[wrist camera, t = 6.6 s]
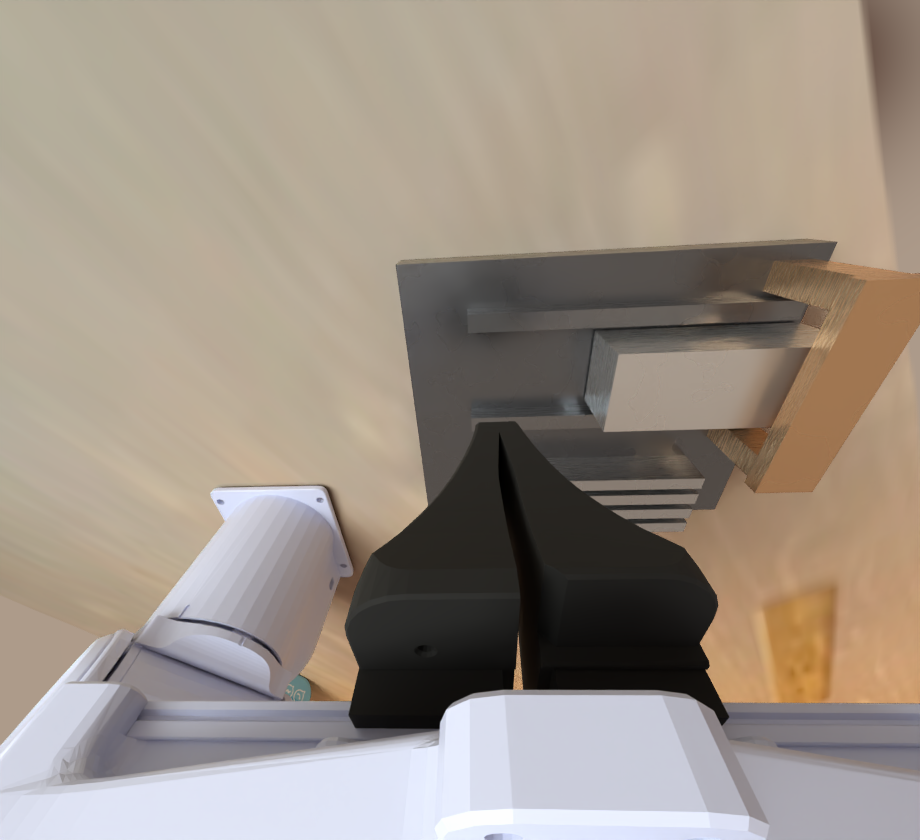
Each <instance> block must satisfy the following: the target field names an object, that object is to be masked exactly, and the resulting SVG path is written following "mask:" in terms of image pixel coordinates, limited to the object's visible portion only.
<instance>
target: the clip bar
mask: <svg viewBox="0 0 920 840" xmlns="http://www.w3.org/2000/svg"><path fill="white" fill-rule="evenodd" d="M819 330H820V329H817V328H814V327H811V326H809V325H806V324H803V323H800V322H797V323H773V324H749V325H724V326H700V327H676V328H651V329H627V330H603V331H595V335H594V342H593V348H592V355H591V361H590V368H589V374H588V381H587V387H586V394H585V401H586V403H587V405H588V407H589V408H590V410H591V412H592V413H593V415H594V417H595V418H596V420H597V422H598V423H599V425H600V427H601V429H602V430H603V432H622V431H659V430H697V429H734V428H771V427H772V425H773V423H774V421H775V419H776V417H777V415H778V413H779V411H780V409H781V407H782V405H783V403H784V401H785V399H786V397H787V395H788V393H789V391H790V389H791V387H792V385H793V383H794V381H795V379H796V377H797V375H798V373H799V371H800V369H801V367H802V365H803V363H804V361H805V359H806V357H807V355H808V353H809V351H810V349H811V347H812V345H813V343H814V340H815V338H816V336H817V334H818V332H819Z"/></svg>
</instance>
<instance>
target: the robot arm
mask: <svg viewBox="0 0 920 840" xmlns="http://www.w3.org/2000/svg"><path fill="white" fill-rule="evenodd" d="M210 495H211V497H212V499H213V501H214V503H215V504H216V506H217V508H218V510H219V511H220V513H221V515H222V516H223V518H224V520H225V522H224V523H223V525H222V526H221V527H220V529H219V530H218V531H217V532H216V534H215V535H214V536H213V538H212V539H211V540H210V541H209V543H208V544H207V545H206V547H205V548H204V549H203V550H202V552H201V553H200V554H199V555H198V557H197V558H196V559H195V561H194V562H193V563H192V564H191V566H190V567H189V568H188V570H187V571H186V572H185V573H184V575H183V576H182V577H181V579H180V580H179V581H178V582H177V584H176V585H175V586H174V587H173V589H172V590H171V591H170V593H169V594H168V595H167V596H166V598H165V599H164V600H163V602H162V603H161V604H160V605H159V607H158V608H157V609H156V611H155V612H154V613H153V614H152V616H151V617H150V618H149V619H148V621H147V622H146V623H145V625H144V626H143V627H142V628H140V629H139V630H138V631H137V632H136V633H135V634H134V633H132V632H130V631H128V630H126V629H120V630H118V631H117V632H115V633H114V634H109V635H106V636H103V637H101V638H98V639H97V640H96V641H95V642H93V643H92V644H91V646H90V647H88V649H87V650H86V651H85V652H84V653H83V654H82V655H81V656H80V657H79V658H78V659H77V660H76V661H75V662H74V663H73V665H72V666H71V667H70V668H69V669H68V670H67V671H66V672H65V673H64V674H63V676H62V677H61V678H60V679H59V680H58V681H57V682H56V683H55V684H54V686H53V687H52V688H51V689H50V690H49V691H48V692H47V693H46V695H45V696H44V697H43V698H42V699H41V700H40V701H39V702H38V704H37V705H36V706H35V707H34V708H33V709H32V710H31V711H30V713H29V714H28V715H27V716H26V717H25V718H24V719H23V720H22V722H21V723H20V724H19V725H18V726H17V727H16V729H15V730H14V731H13V732H12V733H11V734H10V735H9V737H8V738H7V739H6V740H5V741H4V742H3V743H2V745H1V746H0V840H920V704H908V703H722V702H721V700H720V698H719V696H718V694H717V692H716V690H715V688H714V686H713V684H712V682H711V680H710V678H709V676H708V674H707V672H706V670H705V669H708V668H709V666H710V665H709V660H708V658H707V657H706V655H705V653H704V651H703V649H702V647H701V645H700V641H701V640H702V638H703V636H704V635H705V633H706V631H707V629H708V628H709V626H710V624H711V623H712V621H713V619H714V617H715V614H716V611H717V608H718V600H717V595H716V594H715V592H714V590H713V589H712V587H711V586H710V584H709V583H708V581H707V579H706V578H705V576H704V575H703V573H702V572H701V570H700V569H699V567H698V566H697V564H696V563H695V562H694V560H693V559H692V558H691V557H690V555H689V554H688V553H687V551H686V550H685V548H683V547H681V546H679V545H677V544H675V543H673V542H671V541H668V540H666V539H664V538H662V537H660V536H658V535H656V534H653V533H651V532H649V531H647V530H645V529H643V528H641V527H639V526H637V525H636V524H634V523H632V522H630V521H628V520H627V519H625V518H623V517H621V516H619V515H618V514H616V513H614V512H613V511H611V510H609V509H608V508H606V507H605V506H603V505H602V504H600V503H599V502H597V501H596V500H594V499H593V498H591V497H590V496H588V495H587V494H586V493H584V492H583V491H582V490H580V489H579V488H578V487H576V486H575V485H574V484H573V483H571V482H570V481H569V480H568V479H567V478H565V477H564V476H563V475H562V474H561V473H560V472H559V471H558V470H557V469H556V468H555V467H554V466H553V465H552V464H551V463H550V462H549V461H548V460H547V459H546V458H545V457H544V456H543V455H542V454H541V452H540V451H539V450H538V449H537V448H536V447H535V446H534V444H533V443H532V442H531V441H530V440H529V438H528V437H527V436H526V434H525V433H524V432H523V430H522V429H521V428H520V426H519V425H518V423H516V422H515V421H505V422H479V423H477V424H476V425H475V431H474V434H473V437H472V440H471V442H470V445H469V447H468V449H467V451H466V453H465V455H464V457H463V459H462V461H461V462H460V464H459V466H458V467H457V469H456V471H455V472H454V474H453V476H452V477H451V478H450V480H449V481H448V483H447V484H446V485H445V487H444V488H443V489H442V491H441V492H440V493H439V494H438V496H437V497H436V498H435V499H434V500H433V501H432V503H431V504H430V505H429V506H428V507H427V508H426V509H425V510H424V511H423V512H422V513H421V514H420V515H419V516H418V517H417V518H416V519H415V520H414V521H413V522H412V523H410V524H409V525H408V526H407V527H406V528H405V529H404V530H403V531H402V532H400V533H399V534H398V535H397V536H396V537H394V538H393V539H392V540H390V541H389V542H388V543H386V544H385V545H384V546H382V547H381V548H380V549H378V550H377V551H375V552H374V553H372V555H371V557H370V558H369V560H368V562H367V564H366V566H365V568H364V570H363V573H362V575H361V577H360V580H359V582H358V584H357V587H356V589H355V592H354V595H353V598H352V602H351V605H350V609H349V612H348V616H347V619H346V623H345V631H346V636H347V639H348V641H349V644H350V646H351V649H352V651H353V653H354V656H355V658H356V661H357V663H358V666H359V672H358V676H357V680H356V685H355V689H354V693H353V697H352V701H293V700H292V698H291V697H290V696H289V695H287V694H285V692H286V689H287V687H288V684H289V683H290V682H291V681H292V680H293V679H295V677H296V676H297V675H298V674H299V673H300V672H301V671H302V670H303V669H304V667H305V666H306V664H307V663H308V662H309V660H310V658H311V657H312V655H313V653H314V650H315V648H316V645H317V642H318V639H319V636H320V634H321V631H322V628H323V625H324V622H325V619H326V617H327V614H328V611H329V608H330V605H331V602H332V600H333V597H334V594H335V591H336V588H337V585H338V583H339V580H340V577H350V576H352V575H353V572H354V569H353V566H352V563H351V560H350V557H349V554H348V551H347V548H346V545H345V542H344V539H343V536H342V533H341V530H340V527H339V524H338V521H337V518H336V515H335V512H334V509H333V506H332V503H331V500H330V497H329V495H328V492H327V490H326V489H325V488H324V487H322V486H280V487H231V488H215V489H214V490H213V491H212V492H211V494H210ZM319 497H320V498H319ZM321 498H322V499H321ZM518 635H519V646H520V657H521V669H522V681H523V690H513V683H514V669H516V655H517V640H518Z"/></svg>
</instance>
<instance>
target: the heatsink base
mask: <svg viewBox="0 0 920 840" xmlns="http://www.w3.org/2000/svg"><path fill="white" fill-rule="evenodd" d="M836 244H837V242H833V241H823V240H812V239H797V240H778V241H759V242H740V243H720V244H701V245H682V246H663V247H644V248H625V249H606V250H587V251H568V252H548V253H529V254H510V255H491V256H472V257H453V258H434V259H415V260H401V261H400V262H399V263H397V264H396V271H397V278H398V285H399V293H400V300H401V308H402V315H403V322H404V330H405V337H406V344H407V352H408V359H409V367H410V374H411V381H412V389H413V396H414V404H415V411H416V418H417V426H418V433H419V440H420V448H421V455H422V463H423V470H424V477H425V485H426V492H427V500H428V506H429V505H430V504H431V503H432V501H433V500H434V499H435V498H436V497H437V496H438V494H439V493H440V492H441V491H442V489H443V488H444V487H445V485H446V484H447V483H448V481H449V480H450V478H451V477H452V476H453V474H454V472H455V471H456V469H457V467H458V466H459V464H460V462H461V461H462V459H463V457H464V455H465V453H466V451H467V449H468V447H469V445H470V442H471V440H472V437H473V434H474V431H475V425H476V424H477V423H479V422H505V421H515V422H516V423H518V425H519V426H520V428H521V429H522V430H523V432H524V433H525V434H526V436H527V437H528V438H529V440H530V441H531V442H532V443H533V444H534V446H535V447H536V448H537V449H538V450H539V451H540V452H541V454H542V455H543V456H544V457H545V458H546V459H547V460H548V461H549V462H550V463H551V464H552V465H553V466H554V467H555V468H556V469H557V470H558V471H559V472H560V473H561V474H562V475H563V476H564V477H565V478H567V479H568V480H569V481H570V482H571V483H573V484H574V485H575V486H576V487H578V488H579V489H580V490H582V491H583V492H584V493H586V494H587V495H588V496H590V497H591V498H593V499H594V500H596V501H597V502H599V503H600V504H602V505H603V506H605V507H606V508H608V509H609V510H611V511H613V512H614V513H616V514H618V515H619V516H621V517H623V518H625V519H627V520H628V521H630V522H632V523H634V524H636V525H637V526H639V527H641V528H643V529H645V530H647V531H649V532H679V531H684V529H685V526H686V524H687V522H686V521H685V519H684V518H689V517H690V514H691V512H692V510H701V509H715V507H716V505H717V503H718V501H719V498H720V496H721V494H722V492H723V490H724V488H725V485H726V483H727V481H728V479H729V477H730V474H731V472H732V470H733V468H734V466H735V464H736V465H737V466H738V467H739V468H740V469H741V470H742V471H743V472H744V473H745V474H746V475H747V478H746V480H745V483H746V484H747V485H748V486H749V487H750V488H751V489H752V490H753V491H754V492H755V493H778V492H813V490H814V488H815V487H816V485H817V484H818V482H819V481H820V479H821V478H822V476H823V474H824V473H825V471H826V470H827V468H828V467H829V465H830V464H831V462H832V460H833V459H834V457H835V456H836V454H837V453H838V451H839V449H840V448H841V446H842V445H843V443H844V442H845V440H846V439H847V437H848V435H849V434H850V432H851V431H852V429H853V428H854V426H855V424H856V423H857V421H858V420H859V418H860V417H861V415H862V414H863V412H864V410H865V409H866V407H867V406H868V404H869V403H870V401H871V400H872V398H873V396H874V395H875V393H876V392H877V390H878V389H879V387H880V385H881V384H882V382H883V381H884V379H885V378H886V376H887V375H888V373H889V371H890V370H891V368H892V367H893V365H894V364H895V362H896V360H897V359H898V357H899V356H900V354H901V353H902V351H903V350H904V348H905V346H906V345H907V343H908V342H909V340H910V339H911V337H912V336H913V334H914V332H915V331H916V329H917V328H918V326H919V325H920V273H915V274H910V273H904V272H897V271H891V270H884V269H877V268H871V267H864V266H858V265H851V264H845V263H838V262H831V261H829V259H830V257H831V255H832V253H833V250H834V248H835V246H836ZM808 305H812V306H816V307H819V308H823V309H826V310H829V312H828V314H827V316H826V318H825V320H824V322H823V324H822V326H821V328H820V330H819V332H818V334H817V336H816V338H815V340H814V343H813V345H812V347H811V349H810V351H809V353H808V355H807V357H806V359H805V361H804V363H803V365H802V367H801V369H800V371H799V373H798V375H797V377H796V379H795V381H794V383H793V385H792V387H791V389H790V391H789V393H788V395H787V397H786V399H785V401H784V403H783V405H782V407H781V409H780V411H779V413H778V415H777V417H776V419H775V421H774V423H773V425H772V427H771V429H770V432H769V434H767V433H766V432H765V431H763V430H762V429H761V428H734V429H697V430H659V431H622V432H603V430H602V429H601V427H600V425H599V423H598V422H597V420H596V418H595V417H594V415H593V413H592V412H591V410H590V408H589V407H588V405H587V403H586V401H585V394H586V387H587V381H588V374H589V368H590V361H591V355H592V348H593V342H594V335H595V331H603V330H627V329H651V328H676V327H700V326H724V325H749V324H773V323H797V322H801V320H802V318H803V316H804V314H805V311H806V309H807V307H808Z"/></svg>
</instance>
